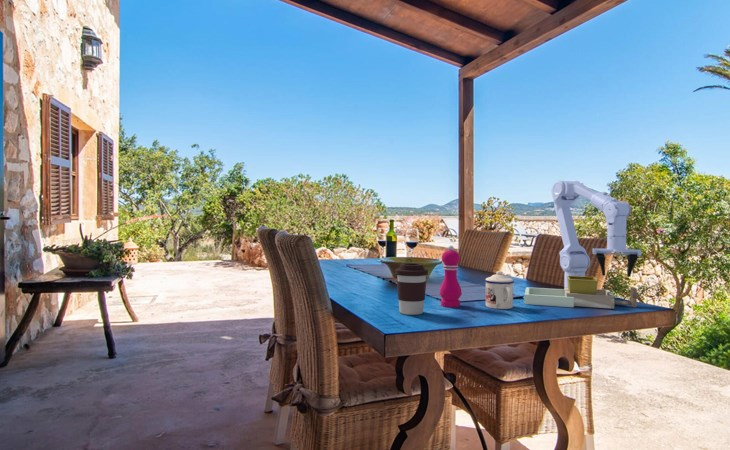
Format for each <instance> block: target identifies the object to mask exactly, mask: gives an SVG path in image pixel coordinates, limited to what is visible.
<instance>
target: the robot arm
mask: <svg viewBox="0 0 730 450" xmlns="http://www.w3.org/2000/svg"><path fill="white" fill-rule="evenodd" d="M551 187H552V188H551V195H552V199H553V206H554V211H555V214H556V215H555V216H556V219H557V223H558V228H559V232H560V237H561V240H562V243H563V248H562V249H561V250H560V251H559V265H560V267H561V269H562V271H563V272H564V281H563V282H564V287H563V289H565V287H567V288H568V280H567V276H585V277H586V272H587V271H588V270H587V269H589V268H590V266H591V258H590V256H589V255H588V253H587V250H586V249H585V248H584V247H583V246H582V245H580V243H579V239H578V235H577V231H576V227H575V223H574V218H573V215H572V210H571V208H570V207H571V205H572V204H574V203H575V202H576V201H577V199H578V198H579V197H581V198H582V199H583V198H584V199H585V200H588V201H590V205H592V207H594V208H595V209H598V210H599V211H601V212H602V213H603V215H604V217H605V221H606V224H607V225H606V226H607V231H606V232H607V233H606V234H607V235H606V236H607V237H606V248H594V247H592V254H593V255H595V257H596V258H597V262H598V263H599V267H600V269H601V275H602V276H604V277H605V276H606V267H605V266H606V256H605V255H610V256H611V255H612V256H614V255H615V256H617V255H619V256H627V257H626V259H627V267H626V268H627V271H626V276H627V277H628V278H629V277H631V276H632V271H633V268H634V266H635V264H636V262H637V261H638V259H639V257H641V256H642V249H632V248H629V249H628V248H627V218H628V217H629V216H630V214H631V212H632V208H631V206H630V204H629V203H628V202H627V201H626V200H620V201H619V200H618V199H617V198H616V197H612V196H610V195H608V192H606V191H599V192H596V191H594V190H593V189H591V188H589V187H587V186H586V185H585V184H584V183H583V182H580V181H578V180H575V181H570V180H569V181H568V180H556V181H555V182H554V183H553V185H552V186H551Z"/></svg>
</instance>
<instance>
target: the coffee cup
mask: <svg viewBox="0 0 730 450" xmlns="http://www.w3.org/2000/svg"><path fill="white" fill-rule="evenodd" d="M394 271H395V273H394V274H395V275H396V276H397V280H396V286H397V287H396V288H397V289H396V290H397V300H398V308H399V309H398V310H399V313H400V314H401V315H402V314H403V315H405V316H406V315H408V316H417V315H422V314H423V313H424V306H425V300H426V290H427V289H426V288H427V279H426V277H427V276H428V275H429V269H427V268H425V267H424V264H422V263H418V262H416V263H413V262H407V263H405V262H404V263H401V264H400V265H399V268H396V269H395V270H394Z"/></svg>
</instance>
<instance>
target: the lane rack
mask: <svg viewBox="0 0 730 450" xmlns="http://www.w3.org/2000/svg"><path fill="white" fill-rule="evenodd" d="M523 299H524V304H523V305H532V306H533V305H535V306H549V307H561V308H562V307H564V308H574V307H575V306H574V297H565V289H564V288H547V287H546V288H545V287H531V286H530V287H527V286H526V287H525V291H524V298H523Z"/></svg>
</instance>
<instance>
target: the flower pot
mask: <svg viewBox="0 0 730 450" xmlns="http://www.w3.org/2000/svg"><path fill="white" fill-rule="evenodd" d="M567 280H568V290H569V292H570V293H576V294H593V295H596V290H597V289H598V279H597V278H596V277H595V276H586V275H585V276H567Z"/></svg>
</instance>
